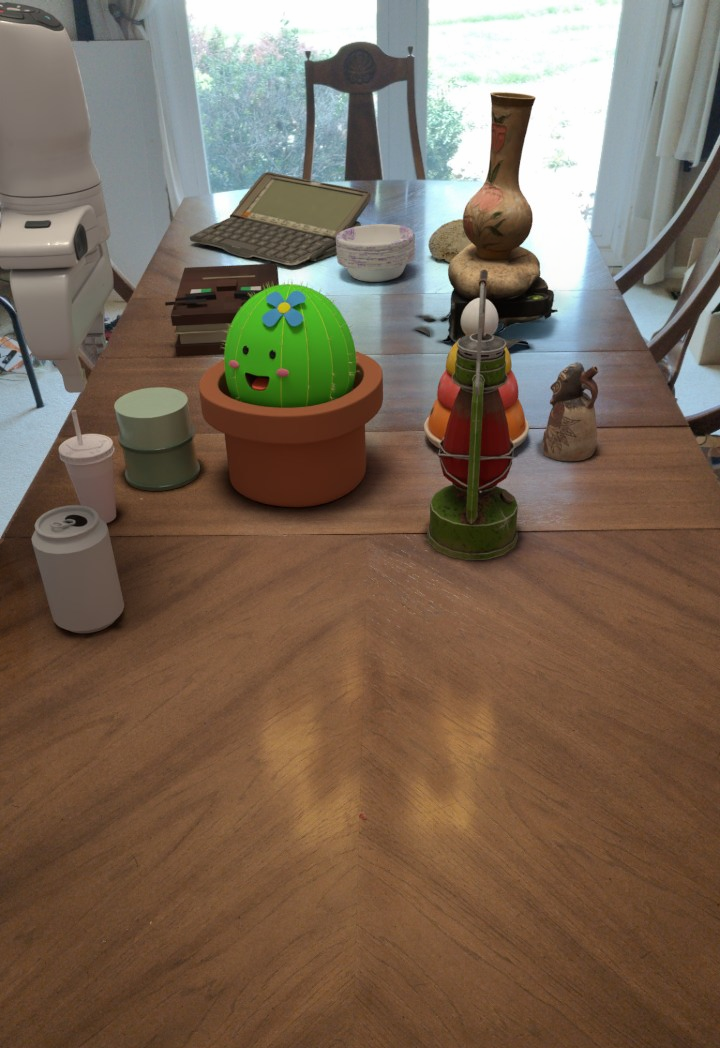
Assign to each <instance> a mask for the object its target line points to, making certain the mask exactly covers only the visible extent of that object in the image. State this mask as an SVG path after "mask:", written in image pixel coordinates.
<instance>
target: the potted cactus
mask: <svg viewBox="0 0 720 1048" xmlns="http://www.w3.org/2000/svg"><path fill="white" fill-rule="evenodd" d="M285 282H286V281H285V279H284V280H283V282H282V283H281V284H279V285H276V286H274V285H273V286H272V287H270V286H269V288H268V284H267V286H266V287H267V289H265V290H263V291H261V292H259V293H257V294H256V295H254V296H253V297H251V296H250V297H251V298H250V299H249V300H248V301H247V302H246V303H245V304H244V305H243V306H242V307H241V308H240V310H239V311H238V312H237V314H236V315H235V317H234V319H233V321H232V323H231V325H229V326H230V328H229V330H228V331H227V332H228V334H227V338H226V341H223V340H222V339H221V340H222V341H223V342H226V343H225V344H224V345H225V348H223V347H222V348H223V349H225V351H224V354H223V355H224V356H223V357H224V358H221V357H220V360H219V361H218V362H216V363H215V364H214V365H212V366H211V367H209V368H208V370H206V371H205V373H204V374H203V375H202V376H201V378H200V380H199V384H198V393H199V400H200V401H199V402H200V407H201V414H202V417H203V419H204V421H205V422H206V423H207V424H208V425H209V426H210V427H211V428H213V429H214V430H216V431H218V432H220V433H222V434H224V442H225V450H226V451H225V452H226V457H227V458H226V459H227V466H228V475H229V480H230V483H231V485H232V487H233V488H234V490H235V491H236V492H238V493H239V494H240V495H242V496H243V497H245V498H247V499H250V500H252V501H255V502H258V503H261V504H265V505H268V506H276V507H282V508H306V507H314V506H315V507H316V506H319V505H324V504H328V503H331V502H333V501H336V500H338V499H341V498H342V497H344V496H346V495H348V494H349V493H350V492H352V491H353V490H354V489H356V487H358V486H359V484H360V483H361V482H362V481H363V479H364V478H365V477H364V476H365V474H366V471H367V470H366V468H367V450H366V447H367V446H366V424H368V423H369V422H370V421H372V420H373V419H374V418H375V416H377V414H379V412H380V410H381V408H382V406H383V402H384V374H383V369H382V367H381V365H380V364H379V362H377V361H376V360H375V359H373V358H371V356H369V355H366V354H364V353H363V352H361V351H359V349H357V348H356V346H355V343H354V341H355V340H356V339H358V338H353V336H352V335H353V334H352V325H350V326H349V325H348V323H347V321H346V320H345V318H344V315H343V314H342V313H341V311H340V309H338V308H337V305H335V303H334V302H335V301H336V300H337V299H336V297H334V298H333V299H332V300H331V299H329V298H328V295H329V292H326V294H325V295H324V294H323V293H321V292H322V290H323V287H320V289H319V291H318V290H315V289H314V287H308V285H309V282H306V285H303V282H304V281H301V283H300V284H294V283H293V281H292V280H291V281H290V280H289V281H287V283H285ZM268 283H269V282H268ZM271 285H272V284H271ZM263 286H264V285H263ZM264 288H265V287H264ZM253 292H254V291H253ZM248 294H249V293H248ZM251 294H252V293H251ZM254 294H255V293H254ZM249 295H250V294H249ZM252 295H253V294H252ZM335 299H336V300H335ZM226 324H227V323H226ZM227 325H228V324H227ZM227 332H226V333H227ZM222 344H223V343H222ZM220 348H221V347H220Z"/></svg>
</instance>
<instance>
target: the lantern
mask: <svg viewBox="0 0 720 1048" xmlns="http://www.w3.org/2000/svg"><path fill="white" fill-rule="evenodd" d="M487 278H488V271H487V270H482V271H481V272H480V278H479V286H480V302H479V322H478V333H476V334H471V335H467V336H464V337H462V338H460V339H459V340H458V341H457V347H458V350H457V355H456V361H455V372H454V374H453V375H452V380H453V383H455V384H456V385H458V386H459V387H460V390H459V392H458V394H457V397H456V399H455V401H454V404H453V407H452V410H451V413H450V416H449V419H448V423H447V427H446V432H445V436H444V438H443V439H442V440H441V442H440V443H439V446H440V448H438V449H439V450H438V453H437V457H438V458H439V465H440V467H441V472H442V474H443V477H445V478H446V479H447V480H448V481H449V482H451V484H449V485H448V486H444V487H443V488H441V489H439V490H438V491H436V492H435V493H434V494H433V496H432V497H431V499H430V500H429V525H428V527H427V531H426V535H427V540H428V541H427V542H428V543H429V545H431V546H432V547H433V549H435V550H436V551H437V552H439V553H441V554H443V555H446V556H448V557H449V558H453V559H459V560H466V561H483V560H490V559H493V558H497V557H500V556H504V555H505V554H507V553H508V552H509V551H511V550H513V548H515V546H516V544H517V541H518V540H519V533H518V530H517V523H518V509H519V505H518V502H517V499H516V496H515V495H513V494H512V493H510V492H509V491H508V490H507V489H505V488H502V487H499V486H498V484H500V483H501V482H503V481H505V480H506V479H507V478H508V475H509V473H510V471H511V468H512V466H513V460H514V459H515V455H514V452H515V449H516V448H515V446H514V444H513V442H512V440H511V439H510V437H509V429H508V422H507V418H506V414H505V410H504V405H503V402H502V399H501V396H500V392H499V389H498V388H499V387H501V386H503V385H505V384H506V382H507V381H508V377H507V374H506V373H505V370H506V361H505V354H506V352H505V350H504V349H505V347H506V342H505V340H504V339H505V338H502V337H501V336H498V335H496V336H495V334H493V335H491V334H487V333H485V332H484V327H485V306H486V284H487ZM442 445H443V446H442Z"/></svg>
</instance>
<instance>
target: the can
mask: <svg viewBox="0 0 720 1048" xmlns="http://www.w3.org/2000/svg"><path fill="white" fill-rule="evenodd" d="M107 524H108V523H105V522H104V521H103V520H102V519H100V518H99V516H98V513H97V512H96V511H95V510H94V509H92V508H89V507H86V506H81V505H80V504H73V505H72V504H71V505H64V506H58V507H55V508H52V509H50V510H48V511H46V512H45V513H43V514H41V515H40V516H39V517H38V518H37V519H36V521H35V523H34V529H35V530H34V532H33V533H32V536H31V538H30V539H31V544H32V548H33V551H34V555H35V558H36V562H37V566H38V569H39V574H40V578H41V581H42V584H43V588H44V592H45V596H46V599H47V603H48V607H49V611H50V613H51V617H52V621H53V622H54V623H55V624H56V625H57V627H58V628H61V629H64V630H66V631H69V632H71V633H74V634H75V633H77V634H92V633H95V632H99V631H102V630H104V629H106V628H109V626H111V625H113V623H114V622H115V621H116V620H117V619H118V618H119V617H120V616H121V614H122V613H123V612H124V608H125V601H124V597H123V591H122V588H121V582H120V579H119V573H118V568H117V565H116V560H115V555H114V551H113V545H112V541H111V536H110V532H109V528H108V525H107Z"/></svg>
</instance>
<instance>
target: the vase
mask: <svg viewBox="0 0 720 1048" xmlns="http://www.w3.org/2000/svg"><path fill="white" fill-rule="evenodd" d="M489 95H490V103H491V111H490V113H491V114H490V115H491V118H490V119H491V125H490V126H491V128H490V150H489V151H490V152H489V163H488V170H487V171H488V172H487V175H486V179H485V181H484V183H483V185H482V186H481V187H480V189H478V191H477V192H476V193H475V194H474V195H472V197H470V199H469V200H468V202H467V203H466V205H465V207H464V210H463V215H462V219H463V228H464V232H465V234H466V236H467V238H468V239H469V240H470V241H471V242H472V243H471V244H469V245H468V246H467V247H465V248H464V249H463V250H462V251H461V252H460V253H459V254H458V255H456V256H455V257H454V258H453V259H452V260H451V262H449V264H448V268H447V275H448V276H447V277H448V281H449V283H450V285H451V287H452V292H451V295H450V310H449V312H448V313H447V314H446V315H445V316H444V317H442V318H440V322H444V320H445V318H448V321H447V322H448V329H447V332H448V335H447V337H446V338H445V339H442V340H441V342H444V343H445V342H447V343H448V342H451V341H453V342H454V343H456V342H457V341H458V340H459V339H460V338H462V337H464V336H466V334H465V333H464V332H463V330H462V327H461V316H462V313H463V311H464V309H465V307H466V306H467V305H468V304H469V303H470V302H471V301H472V300H474V299H476V298H480V286H479V278H480V272H481V271H482V270H487V271H488V278H487V284H486V299H487V300H489V301H490V302H491V303H492V304H493V305H494V307H495V308H496V310H497V313H498V325H499V324H502V327H501V328H500V329H499V330H497V331H495V333H494V335H495V336H497V334H498V333H502V332H504V331H505V330H506V329H507V328H509V327H511V326H514V325H518V324H519V325H520V324H528V323H534V322H537V321H539V320H540V319H543V318H544V320H547V319H549V318H550V317H551V316H552V314H554V313H557V312H558V309H553V306H554V301H555V293H554V291H553V290H552V289H549V286H548V283H547V282H546V280H545V279H543V277H541V263H540V260H539V259H538V256H536V254H535V253H534V252H533V251H531V250H529V249H527V248H525V247H523V246H521V245H522V244H524V242H525V241H526V240H527V239H528V237H529V236H530V234H531V230H532V227H533V222H534V221H533V220H534V219H533V217H534V216H533V210H532V208H531V205H530V204H529V201H528V200H527V198H526V197H525V195H524V194H523V192H522V190H521V187H520V166H521V161H522V154H523V149H524V144H525V140H526V136H527V132H528V127H529V124H530V119H531V115H532V110H533V106H534V103H535V101H536V99H537V98H536V96H534V95H530V94H525V93H517V92H510V91H509V92H507V91H493V92H490V94H489ZM418 318H422V320H423V321H424V322H427V323H433V322H436V321H437V319H435V318H433V317H430V316H428V315H422V316H421V315H418ZM415 331H420V332H421V333H423V334H425V335H427V336H428V337H430V335H431V332H430V330H429V329H428V328H427V327H425V326H424V327H418V328H416V329H415ZM503 339H504V340H505V342H506V347H507V349H508V350H509V349H510V348H511V347H513V346H514V345H517V344H520V345H527V346H529V348H531V346H530V344H529V342H528V341H527V340H523V339H519V338H513V339H512V338H511V339H510V338H509V339H506V338H503Z"/></svg>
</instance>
